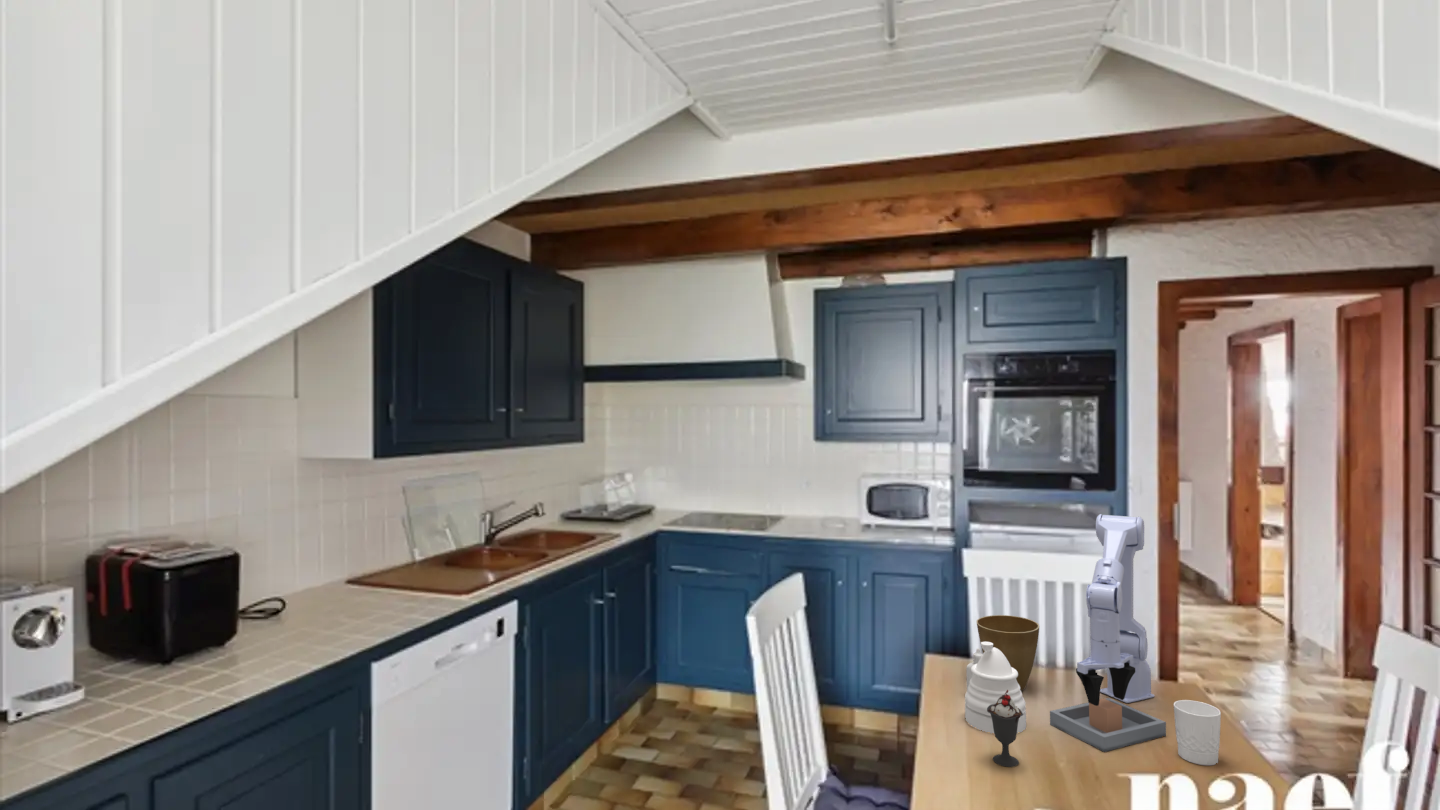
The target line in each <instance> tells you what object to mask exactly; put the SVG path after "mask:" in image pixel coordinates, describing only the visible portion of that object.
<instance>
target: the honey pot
mask: <svg viewBox="0 0 1440 810" xmlns="http://www.w3.org/2000/svg"><path fill="white" fill-rule="evenodd" d="M981 646H982V647H981ZM980 647H981V650H982V649H983V650H984V651H985V652H984V653H983V652H982V654H983V655H982V656H981V658H980V660H979V662H978V663H977V664H974V665H973V666H972V667H971V672H972V673H973V676H972V678H971V679H970V681H969V683H970V684H969V686H968V691H967V690H966V692H965V694H964V695H965V696H964V702H965V703H964V716H965V718H966V719H965V721H967V722H968V723H969V724H970V725H969V724H968V723H967V722H966V723H967V724H968V725H969V726H971V725H972V726H973V727H972V726H971V727H972V728H974V727H976V728H977V729H976V728H975V729H976V730H978V729H979V730H978V731H981V730H982V731H981V732H984V731H985V732H984V733H987V732H990V733H989V734H992V733H994V729H993V722H992V717H991V714H990V713H989V712H988V711H987V708H988V706H989V705H992V704H996V702H997V700H998V698H1000V697H1001V696H1002V695H1006V694H1007V695H1009V696H1010V698H1011V699H1012V700H1013V701H1014V703H1015V706H1017V708H1019V709H1020V710H1021V711H1022V713H1023V715H1022V716H1020V718H1019V721H1018V727H1017V734H1019V733H1018V732H1020V733H1022V732H1024V731H1025V730H1026V728H1027V712H1026V709H1027V708H1026V707H1027V706H1026V705H1027V703H1026V700H1025V698H1024V697H1023V692H1022V690H1020V686H1019V684H1018V682H1017V680H1016V678H1017V677H1018V672H1017V670H1015V669H1014V668H1012V667H1011V666H1010V664H1009V662H1008V660H1007V658H1006V657H1005V655H1004V654H1003V653H1002V652H1001V651H1000V650H999V649H997V648H995V647H993V643H991V642H981V643H980ZM1007 690H1008V693H1006V691H1007ZM1005 693H1006V694H1005ZM1023 730H1024V731H1023Z"/></svg>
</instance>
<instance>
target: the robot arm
mask: <svg viewBox="0 0 1440 810" xmlns="http://www.w3.org/2000/svg"><path fill="white" fill-rule="evenodd" d="M1095 519H1096V520H1095V533H1096V534H1095V535H1096V538H1097V539H1098V541H1099V542H1100V545H1101V546H1102V547H1103V549H1102V550H1103V552H1102V558H1100V559H1098V560H1097V561H1096V562H1095V563H1096V564H1095V567H1094V571H1093V576H1092V581H1091V584H1087V586H1086V590H1085V602H1086V606H1087V616H1088V617H1089V632H1090V633H1089V634H1090V635H1089V636H1090V656H1088V657H1086V658H1085V659H1082V660H1081V661H1078V662H1076V669H1075V673H1076V675H1077V676H1078V678H1079V680H1080V682H1081V684H1082V685H1083V688H1084V691H1085V695H1086V698H1087V703H1088V702H1089V703H1091V704H1093V705H1095V706H1098V705H1099V701H1100V699H1101V698H1100V697H1101V693H1102V694H1105V695H1106V696H1108V697H1112V698H1113V699H1116V700H1118V701H1120V702H1124V704H1125V703H1126V704H1128V703H1129V704H1130V703H1134V702H1139V701H1144V700H1147V699H1152V698H1155V694H1154V693H1152V673H1151V672H1152V670H1151V667H1150V664H1149V663H1148V661H1147V660H1146V659H1147V658H1148V651H1149V650H1148V649H1149V647H1148V645H1149V644H1148V637H1147V630H1146V628H1145V626H1143V625H1142V624H1141V623H1140V622H1138V621H1137V620H1136V619H1135V618H1134V558H1135V555H1136V552H1139V551H1142V550H1144V546H1145V520H1144V518H1143V517H1141V516H1125V515H1124V516H1123V515H1113V514H1112V515H1111V514H1102V513H1100V514H1098V515H1097V516H1096V518H1095ZM1103 669H1106V671H1107V672H1106V675H1107V676H1106V677H1107V678H1106V679H1107V680H1106V681H1107V687H1105V688H1101V687H1102V683H1103V681H1104V680H1105V677H1104V676H1102V675H1100V674H1098V672H1096V671H1099V670H1103Z"/></svg>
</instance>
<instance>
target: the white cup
mask: <svg viewBox="0 0 1440 810" xmlns="http://www.w3.org/2000/svg"><path fill="white" fill-rule="evenodd" d="M1221 714H1222V713H1221V710H1220V709H1219V708H1217V707H1216V706H1214V705H1211V704H1209V703H1206V702H1202V701H1197V700H1190V699H1182V700H1181V699H1179V700H1176V701H1174V702H1173V715H1174V716H1173V717H1174V726H1175V729H1174V730H1175V735H1176V736H1175V737H1176V742H1177V753H1178V756H1179V757H1180V758H1181V759H1183V760H1185V761H1187V762H1189V763H1193V764H1195V765H1199V766H1215V765H1217V764H1218V763H1219V752H1220V751H1219V750H1220V744H1221V743H1220V742H1221V741H1220V738H1221V719H1222V717H1221ZM1216 763H1217V764H1216Z"/></svg>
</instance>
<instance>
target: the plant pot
mask: <svg viewBox="0 0 1440 810" xmlns="http://www.w3.org/2000/svg"><path fill="white" fill-rule="evenodd" d="M976 627H977V632H978V637H979V642H980V644H981V642H991V643H993V647H995V648H997V649H999V650H1000V651H1001V652H1002V653H1003V654H1004V655H1005V657H1006V658H1007V660H1008V662H1009V664H1010V666H1011V667H1012V668H1014V669H1015V670H1017V672H1018V677H1017V678H1016V680H1017V682H1018V684H1019V686H1020V690H1021V691H1023V690H1025V689H1026V687H1027V685H1028V682H1029V680H1030V679H1029V678H1030V676H1031V673H1032V670H1033V665H1034V662H1035V658H1036V654H1037V648H1038V643H1039V636H1040V635H1039V633H1040V624H1039V623H1038V622H1036V621H1035V620H1032V619H1029V618H1026V617H1023V616H1017V615H1007V614H1006V615H1004V614H1003V615H1002V614H998V615H995V614H993V615H986V616H982V617H979V618H978V619H976ZM980 647H981V652H982V654H983V653H984V652H985V651H984V650H983V649H982V646H981V645H980Z"/></svg>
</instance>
